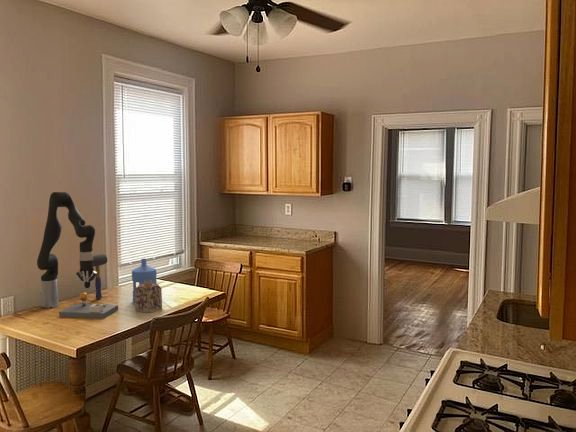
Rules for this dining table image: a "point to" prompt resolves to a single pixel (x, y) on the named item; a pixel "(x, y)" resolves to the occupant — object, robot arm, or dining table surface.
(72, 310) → the board
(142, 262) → the water jug
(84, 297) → the orange rounded piece
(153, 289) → the decorative jar
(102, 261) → the rubber mallet
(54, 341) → the dining table surface
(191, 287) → the dining table surface
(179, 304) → the dining table surface
